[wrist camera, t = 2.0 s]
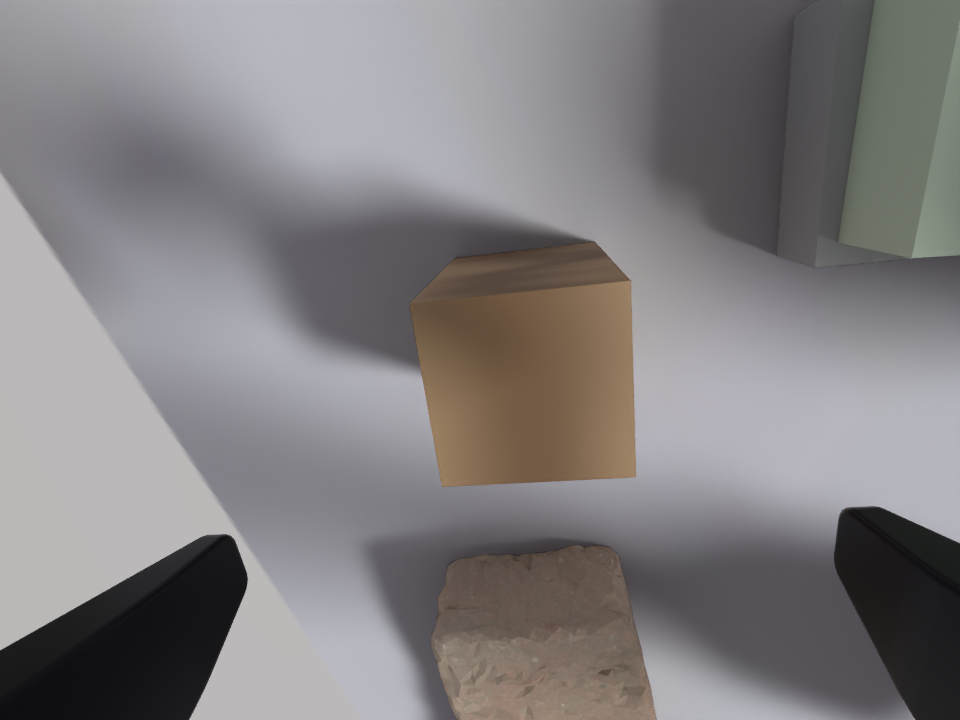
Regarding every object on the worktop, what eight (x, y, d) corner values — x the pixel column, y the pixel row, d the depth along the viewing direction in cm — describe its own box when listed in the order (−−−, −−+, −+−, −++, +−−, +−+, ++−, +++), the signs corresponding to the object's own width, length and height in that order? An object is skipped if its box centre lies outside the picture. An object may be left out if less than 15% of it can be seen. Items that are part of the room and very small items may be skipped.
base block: (1053, -24, 14) (1182, -76, 11) (998, 229, 16) (1094, 240, 13) (786, 20, 15) (842, -17, 12) (769, 253, 17) (815, 267, 14)
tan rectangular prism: (594, 242, 17) (630, 280, 11) (601, 374, 19) (635, 477, 12) (454, 257, 18) (409, 303, 11) (472, 383, 20) (441, 486, 13)
